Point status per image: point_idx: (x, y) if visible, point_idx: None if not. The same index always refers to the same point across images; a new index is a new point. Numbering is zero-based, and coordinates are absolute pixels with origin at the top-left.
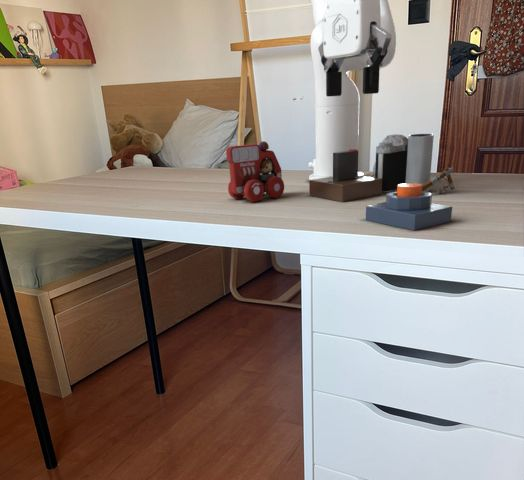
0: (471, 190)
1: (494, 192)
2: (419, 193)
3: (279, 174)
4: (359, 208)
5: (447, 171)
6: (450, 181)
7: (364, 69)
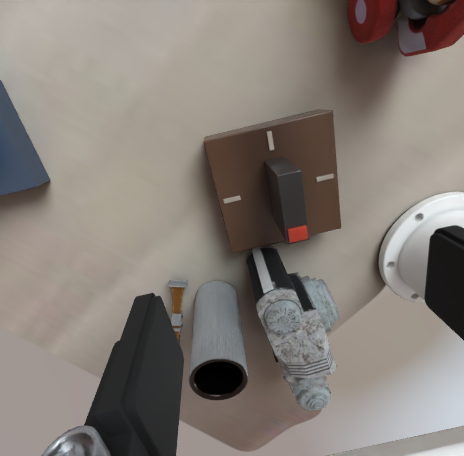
0: None
1: None
2: None
3: (420, 42)
4: (122, 132)
5: None
6: None
7: (106, 395)
